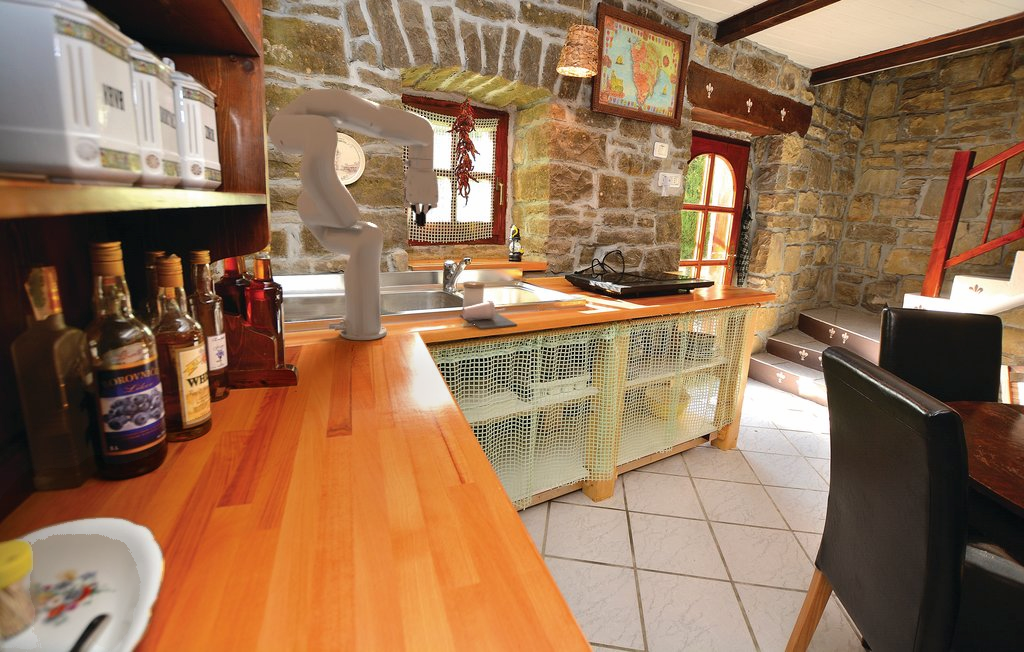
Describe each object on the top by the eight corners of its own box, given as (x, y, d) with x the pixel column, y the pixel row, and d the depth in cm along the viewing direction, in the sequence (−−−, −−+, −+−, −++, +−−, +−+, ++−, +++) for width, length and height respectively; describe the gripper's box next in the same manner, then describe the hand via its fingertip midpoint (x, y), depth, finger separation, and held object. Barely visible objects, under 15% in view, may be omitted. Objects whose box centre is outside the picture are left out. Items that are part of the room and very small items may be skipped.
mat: (480, 329, 148) (480, 327, 148) (460, 316, 162) (460, 314, 161) (516, 325, 155) (517, 324, 154) (494, 313, 168) (494, 311, 168)
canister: (467, 314, 164) (468, 286, 162) (458, 309, 170) (459, 281, 168) (486, 313, 168) (488, 285, 165) (477, 308, 174) (478, 280, 171)
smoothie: (467, 311, 149) (509, 306, 155) (461, 299, 154) (501, 295, 159) (466, 327, 153) (506, 321, 158) (460, 315, 158) (499, 310, 163)
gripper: (400, 163, 141) (400, 227, 146) (448, 167, 148) (446, 227, 153) (393, 164, 147) (394, 225, 152) (439, 167, 154) (438, 225, 159)
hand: (420, 226), depth 153 cm, fingers closed
